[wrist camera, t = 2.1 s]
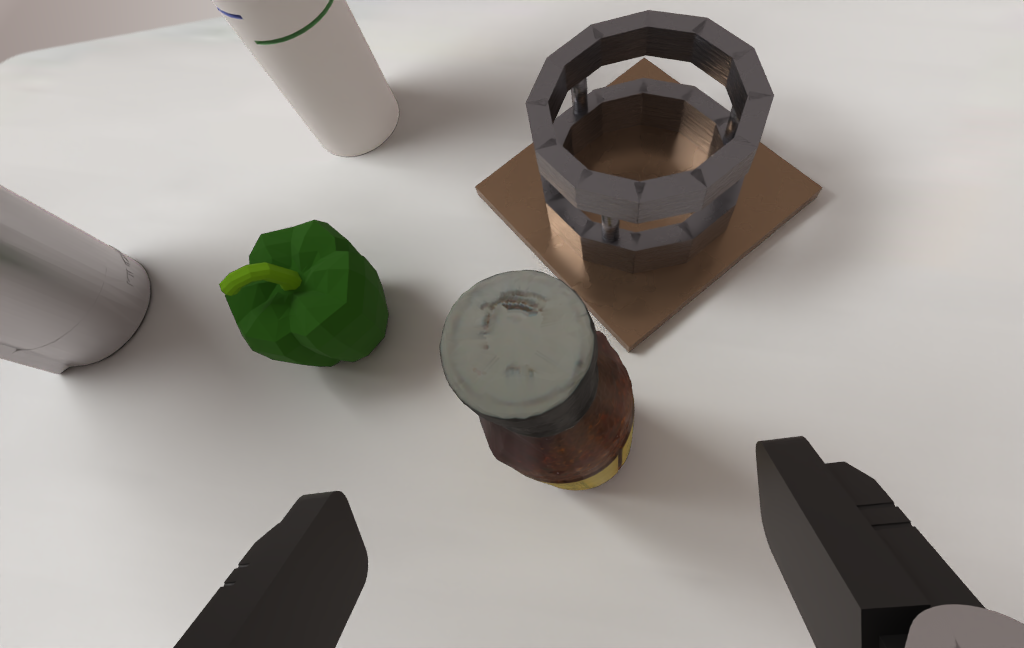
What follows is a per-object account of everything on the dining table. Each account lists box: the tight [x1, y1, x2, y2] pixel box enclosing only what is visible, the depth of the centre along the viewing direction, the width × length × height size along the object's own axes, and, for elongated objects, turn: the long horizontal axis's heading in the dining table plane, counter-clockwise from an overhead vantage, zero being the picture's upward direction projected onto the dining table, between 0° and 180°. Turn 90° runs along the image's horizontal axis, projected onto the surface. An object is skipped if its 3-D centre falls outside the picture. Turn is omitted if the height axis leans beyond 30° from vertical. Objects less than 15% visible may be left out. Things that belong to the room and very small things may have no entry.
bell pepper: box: [219, 220, 389, 367], centre depth 33 cm, size 8×8×10 cm
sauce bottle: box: [440, 270, 634, 490], centre depth 22 cm, size 7×6×20 cm
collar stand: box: [475, 10, 822, 352], centre depth 33 cm, size 16×16×9 cm
